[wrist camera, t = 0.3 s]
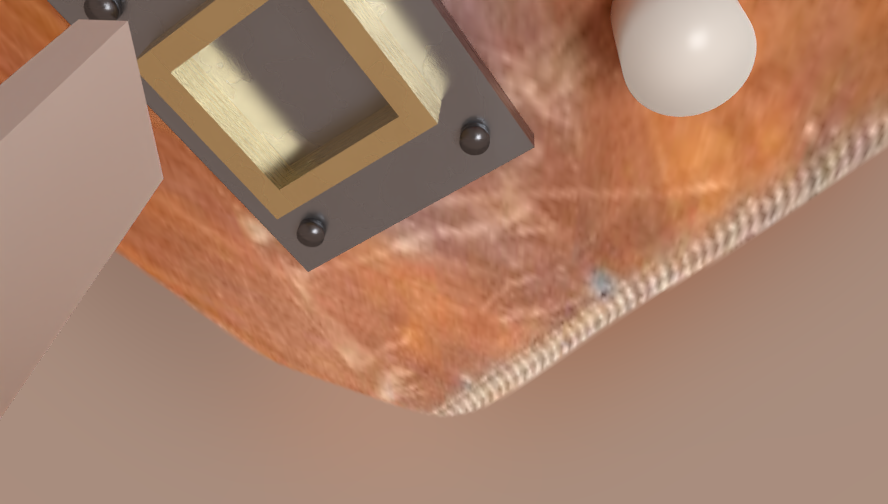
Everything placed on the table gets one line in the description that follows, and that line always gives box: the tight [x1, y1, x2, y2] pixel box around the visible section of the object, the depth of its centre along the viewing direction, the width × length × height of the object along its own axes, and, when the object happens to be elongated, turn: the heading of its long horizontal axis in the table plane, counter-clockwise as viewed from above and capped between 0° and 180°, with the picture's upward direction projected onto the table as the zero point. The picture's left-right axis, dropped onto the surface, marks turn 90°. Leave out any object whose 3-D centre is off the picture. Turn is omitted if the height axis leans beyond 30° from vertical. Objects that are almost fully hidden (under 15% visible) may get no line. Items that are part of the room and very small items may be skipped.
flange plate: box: [47, 0, 534, 272], centre depth 37 cm, size 18×14×3 cm
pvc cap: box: [610, 0, 756, 117], centre depth 34 cm, size 5×5×5 cm
